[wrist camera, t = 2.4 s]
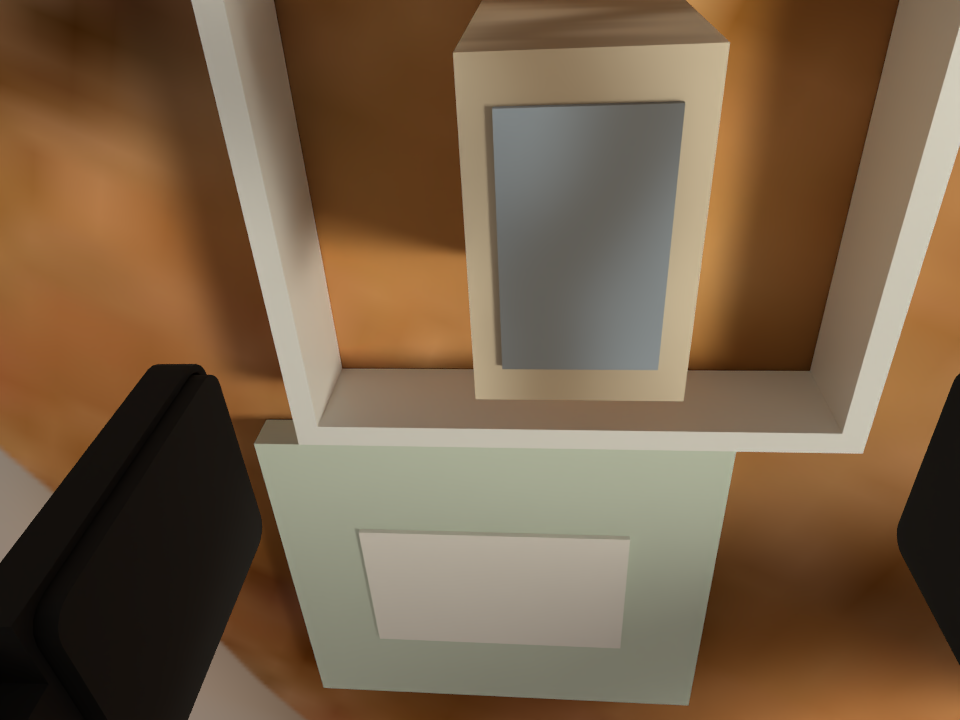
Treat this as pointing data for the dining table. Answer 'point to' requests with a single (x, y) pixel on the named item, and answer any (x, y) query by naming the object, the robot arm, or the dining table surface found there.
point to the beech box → (586, 193)
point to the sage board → (500, 565)
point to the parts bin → (594, 423)
